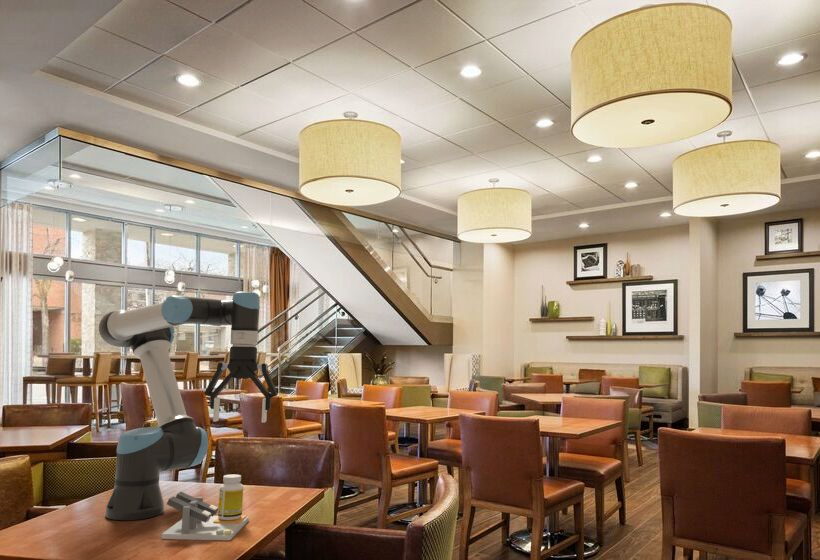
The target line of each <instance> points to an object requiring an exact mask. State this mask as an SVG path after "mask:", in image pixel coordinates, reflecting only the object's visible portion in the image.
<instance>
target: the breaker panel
mask: <svg viewBox="0 0 820 560" xmlns="http://www.w3.org/2000/svg"><path fill="white" fill-rule="evenodd" d="M195 498H196V499H198V500H201V501H203V502H204V497H198V496H197V497H195ZM189 504H191V505H193V506H195V507H198V501H191V502H190V503H189ZM249 519H250V516H247V515H246V514H242V516H241V518H239V519H236V520H221V519H219V518H218V515H214V516H211V517H210V519H209V520H208V521H207V522H206V523H205V522H203V521H201V520H199V519H197V518H195V517H193V516H190V507H185V506H184V507H183V512H182V518H181V519H180V520H179V521H177V522H176V523H174V524H173V525H172V526H170V527H169V528H168V529H166V530H165V531H163V533H161V540H192V541H193V540H194V541H195V540H197V541H199V540H200V541H231V540H232V539H233V538H234V537H235V536H236V535H237V533H239V532H240V531H241V529H242V528H243V527H245V526H246V524H247V523H248V522H249Z"/></svg>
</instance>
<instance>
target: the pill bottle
mask: <svg viewBox="0 0 820 560" xmlns="http://www.w3.org/2000/svg"><path fill="white" fill-rule="evenodd" d="M241 481H242V475H241V474H234V473H233V474H224V475H223V479H222V482H223V483H222V484H221V485H220V486H219V492H218V493H219V497H218V499H219V500H218V511H217V514H218V515H217V516H218V518H219V519H221V520H236V519H239V518H241V516H242V515H243V501H244V498H243V497H244V485H243V484H242V483H241Z"/></svg>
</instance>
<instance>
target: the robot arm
mask: <svg viewBox="0 0 820 560" xmlns="http://www.w3.org/2000/svg"><path fill="white" fill-rule="evenodd" d="M260 308H261V307H260V295H259V294H258V293H256V292H252V291H236V292H234V293H233V294H232V299H216V298H215V299H214V298H204V297H194V296H185V295H182V294H181V295H169V296H167V297H166V299H164V301H163V302H159V303H155V304H151V305H147V306H146V305H145V306H143V307H138V308H135V309H130V310H127V309H117V310H113V311H110V312H108V313H106V314H105V315H103V317H102V318H101V320H100V321H99V324H98V332H99V333H98V334H99V335H100V337H101V338H102V340H103V341H104V342H106V343H107V344H109V345H111V346H113V347H118V348H131V349H132V350H131V351H132V354H133V357H135V358H136V359H139V360H140V363H141V366H142V371H143V373H144V378H145V382H146V385H147V389H148V392H149V395H150V399H151V403H152V407H153V410H154V414H155V417H156V421H157V426H148V427H138V428H135V429H131V430H129V429H128V430H127V431H124V432H122V434H120V435H119V436H118V439H117V440H118V441H117V446H116V460H115V474H114V475H115V476H114V487H113V490H112V492H111V494H110V497H109V500H108V502H107V505H106V506H105V517H106V518H107V519H110V520H115V521H137V520H143V519H150V518H155V517H157V516H160V515H162V514H163V513H164V509H165V502H164V498H163V495H162V491H161V487H160V476H161V475H160V474H161V473H162V472H169V471H175V470H180V469H188V468H191V467H195V466H198V465H199V464H201V462H203V460H204V459H205V457H206V455H207V451H208V449H209V448H208V447H209V437H208V433H207V431H206V430H205V429H204V428H202V427H200V426H196V424H195V420H194V418H193V417H191V416H189V415H187V411H186V408H185V405H184V400H183V399H182V395H181V392H180V388H179V385H178V382H177V379H176V375H175V371H174V367H173V364H172V361H171V358H170V355H169V350H170V349H171V347H172V344H173V341H174V338H175V336H174V334H175V326H176V327H177V326H181V325H186V324H188V325H189V324H191V325H196V324H197V325H209V326H216V327H220V326H231V328H230V345H232V346H230V347H229V362H228V363H226V362H218V363H217V366H216V370H215V372H214V374H213V376H212V378H211V380H210V382H209V383H208V385H207V387H206V389H205V390H204V393H203V394H204V395H205V396H208V397H210V409H211V410H213V413H212V414H213V417H212V421H213V422H215V423H216V422H219V419H220V402H221V400H220V399H221V397H220V396H219V395H220V394H221V392H223V390H224V389H225V388H226V387H227V386H228V385H229V384H230V383H231V381H232V380H234V379H236V380H239V379H243V380H249V379H250V380H251V381H252V382H253V383H254V385H255V386H256V387H257V389H259V391H260V393H261V394H262V395H263V396H264V397H265V398H262V402H261V403H262V407H261V423H264V424H265V423H266V422H267V417H268V416H267V415H268V414H267V413H268V411H270V410H271V407H272V398H274V397H277V396H278V395H279V394H278V391H277V390H278V389H277V388H276V386H275V384H274V382H273V380H272V377H271V375H270V372H269V366H268V363H266V362H264V363H259V364H258V360H257V358H258V357H257V356H258V348H257V347H256V346H257V345H258V344H259V343H258V341H259V340H258V338H259V337H258V336H259V322H260V321H259V318H260ZM227 369H228V371H229V373H228V374H227V375H226V376H225V378H224V379H223V380H222V382H221V383H219V385H218V386H217V387H216V385H217V384H218V381H219V380H220V378H221V376H222V374H223V372H224V371H226V370H227ZM257 370H259V372H261V373H262V375H263V378H264V380H265V383H266V385H267V387H268V388H267V387H266V386H265V385H264V383H263V382H262V381H261V380H260V378H259V377H258V375H257V374H256V371H257ZM268 389H269V390H268Z"/></svg>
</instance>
